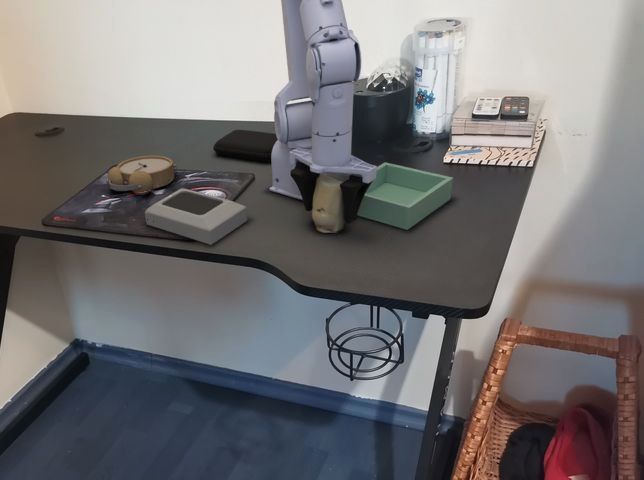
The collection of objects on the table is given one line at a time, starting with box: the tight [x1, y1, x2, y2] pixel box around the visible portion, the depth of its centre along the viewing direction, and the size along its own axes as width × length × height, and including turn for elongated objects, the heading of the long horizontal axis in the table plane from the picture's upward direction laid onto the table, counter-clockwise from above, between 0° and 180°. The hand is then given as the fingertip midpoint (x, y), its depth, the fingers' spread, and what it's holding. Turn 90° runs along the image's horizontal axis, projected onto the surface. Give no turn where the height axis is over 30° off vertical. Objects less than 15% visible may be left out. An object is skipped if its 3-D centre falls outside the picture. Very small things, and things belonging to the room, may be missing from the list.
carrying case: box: [213, 129, 278, 163], centre depth 130 cm, size 11×3×15 cm
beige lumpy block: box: [311, 174, 345, 234], centre depth 99 cm, size 6×5×8 cm
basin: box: [357, 161, 454, 231], centre depth 103 cm, size 13×13×4 cm
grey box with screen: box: [144, 187, 248, 246], centre depth 108 cm, size 10×4×15 cm
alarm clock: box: [105, 155, 178, 196], centre depth 124 cm, size 11×5×15 cm
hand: (330, 214), depth 100 cm, fingers open, 7 cm apart
